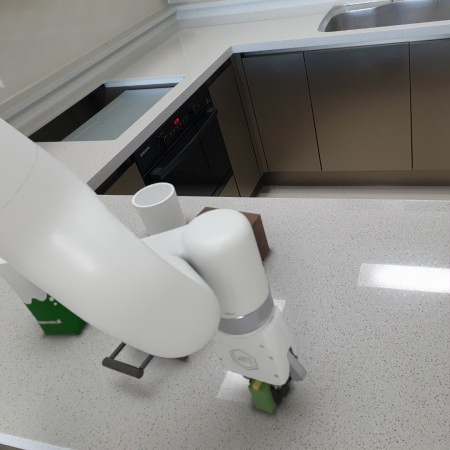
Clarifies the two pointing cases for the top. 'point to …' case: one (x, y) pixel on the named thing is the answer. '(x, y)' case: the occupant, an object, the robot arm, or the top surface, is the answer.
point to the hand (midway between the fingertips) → (272, 391)
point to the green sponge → (262, 395)
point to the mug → (159, 208)
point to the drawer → (127, 368)
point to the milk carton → (42, 304)
